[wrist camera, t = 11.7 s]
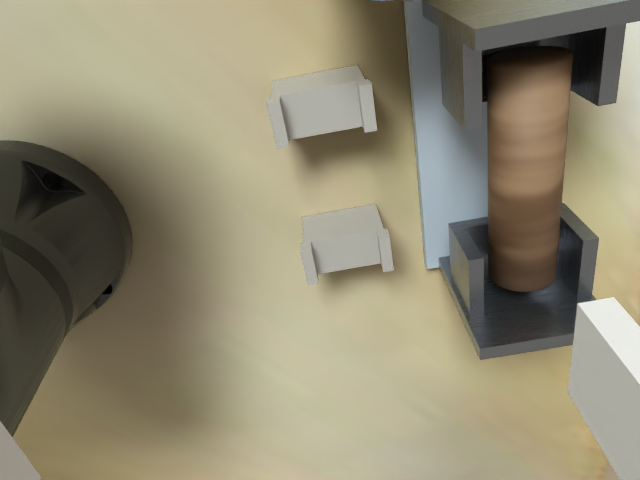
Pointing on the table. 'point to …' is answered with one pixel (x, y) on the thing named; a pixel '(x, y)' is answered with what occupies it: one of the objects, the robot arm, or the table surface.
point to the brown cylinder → (526, 163)
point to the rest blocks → (319, 118)
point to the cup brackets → (466, 107)
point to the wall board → (441, 144)
